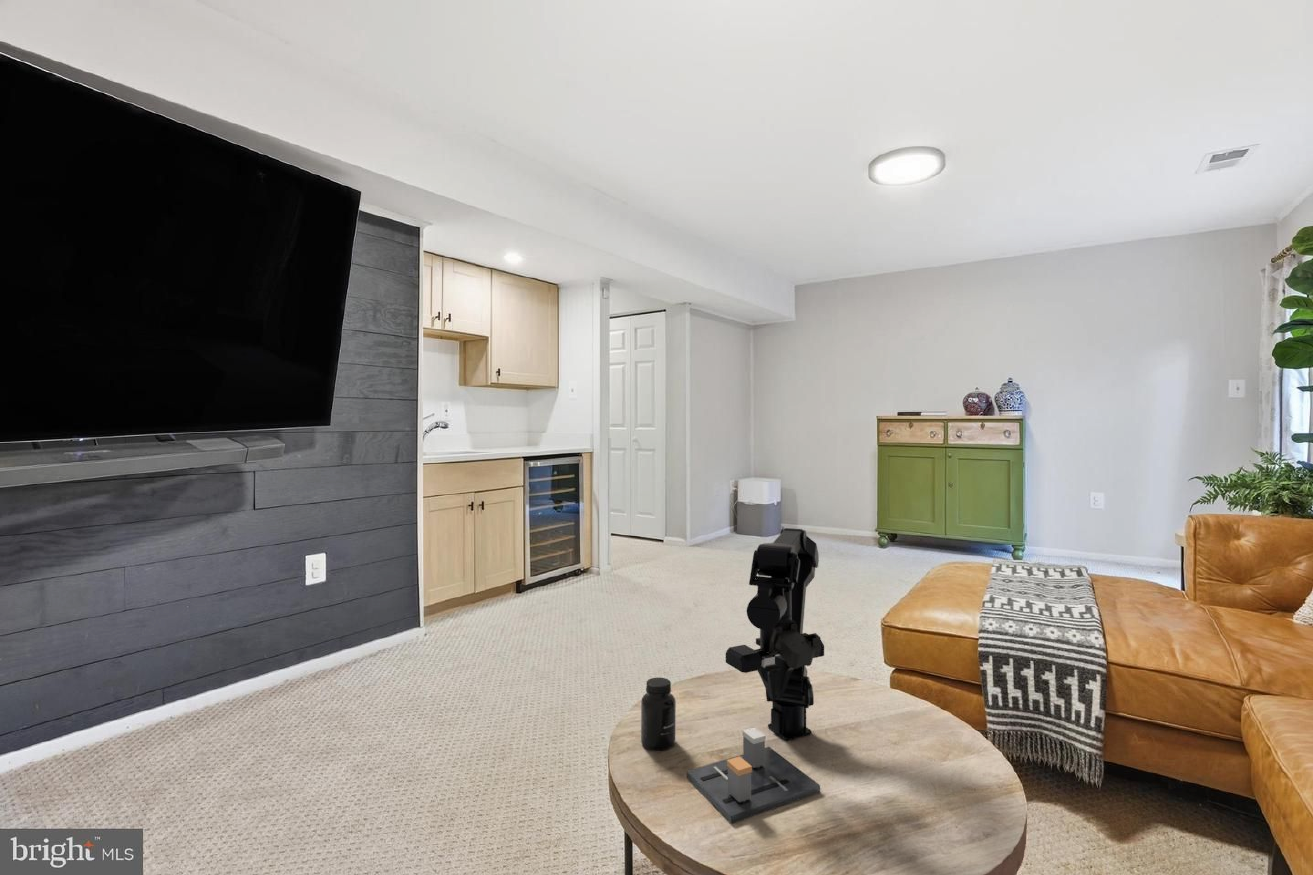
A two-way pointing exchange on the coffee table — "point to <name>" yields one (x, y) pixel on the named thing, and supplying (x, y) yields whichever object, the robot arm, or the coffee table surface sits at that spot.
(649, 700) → the supplement bottle
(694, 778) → the board
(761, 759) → the fader
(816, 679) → the coffee table surface
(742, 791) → the fader
